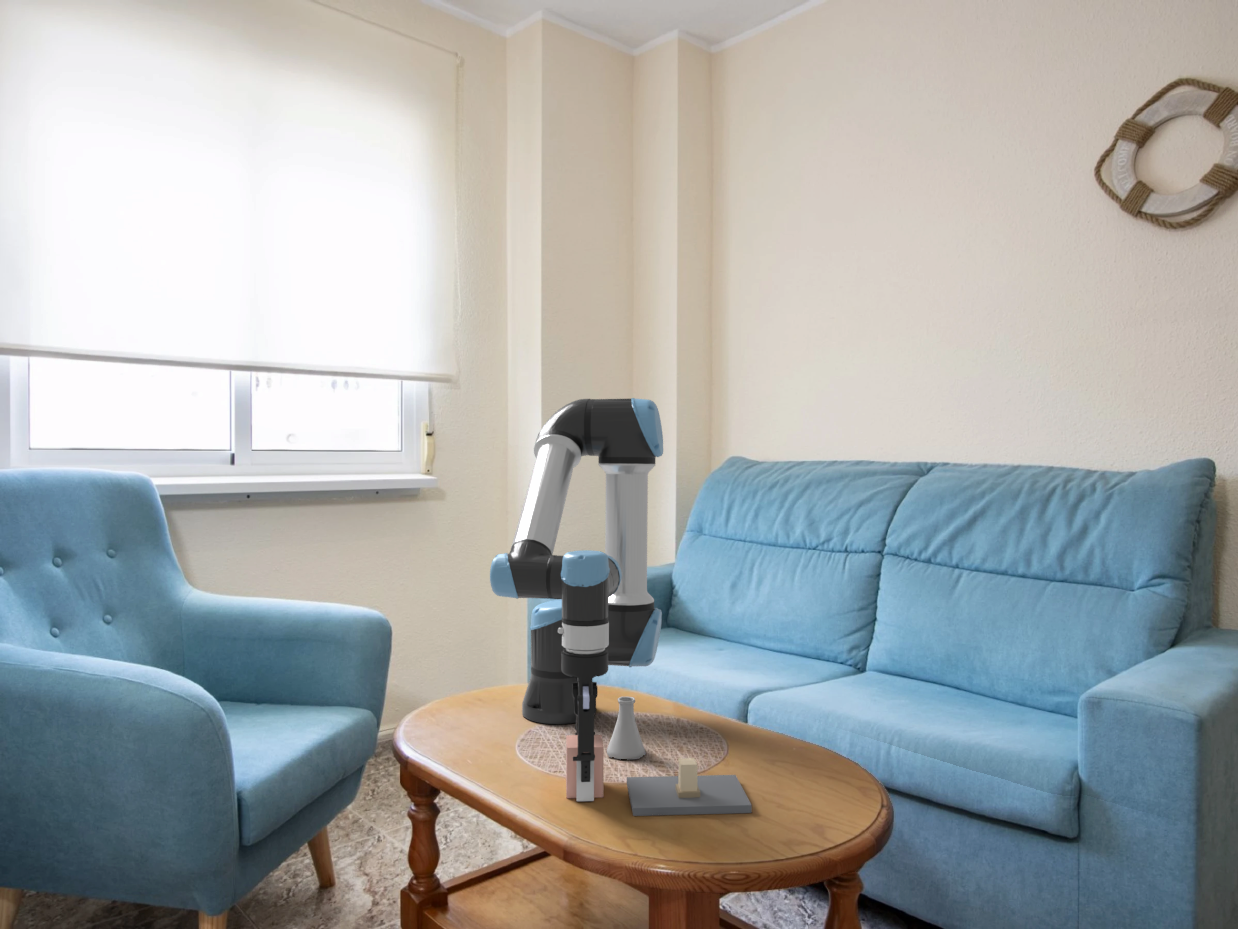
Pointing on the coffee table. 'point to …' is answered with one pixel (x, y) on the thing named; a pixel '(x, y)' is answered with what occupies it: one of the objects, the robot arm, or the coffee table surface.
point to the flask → (626, 733)
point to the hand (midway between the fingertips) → (584, 789)
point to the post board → (687, 793)
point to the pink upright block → (572, 765)
